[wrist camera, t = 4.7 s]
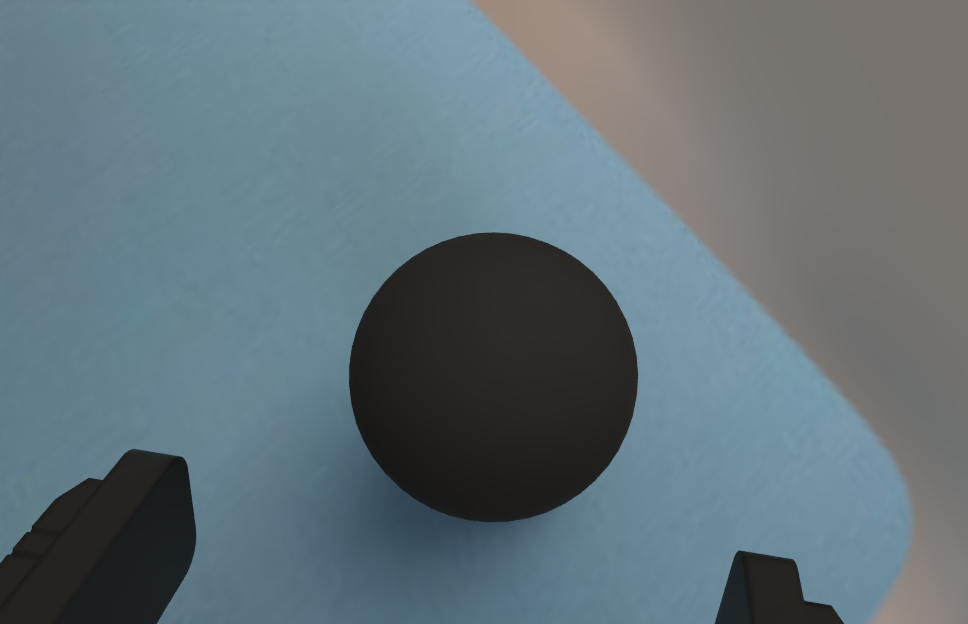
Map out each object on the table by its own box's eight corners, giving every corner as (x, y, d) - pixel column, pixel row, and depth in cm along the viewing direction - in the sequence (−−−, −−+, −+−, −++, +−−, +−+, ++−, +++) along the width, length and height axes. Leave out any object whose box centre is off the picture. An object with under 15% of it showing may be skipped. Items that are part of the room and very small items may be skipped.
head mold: (651, 413, 23) (723, 316, 13) (524, 576, 22) (507, 592, 13) (494, 292, 24) (461, 127, 15) (368, 443, 23) (248, 368, 14)
